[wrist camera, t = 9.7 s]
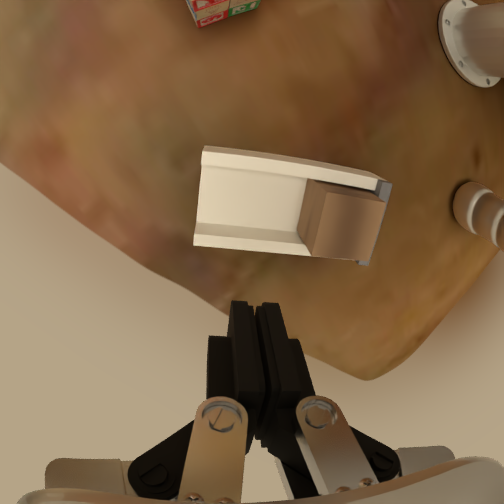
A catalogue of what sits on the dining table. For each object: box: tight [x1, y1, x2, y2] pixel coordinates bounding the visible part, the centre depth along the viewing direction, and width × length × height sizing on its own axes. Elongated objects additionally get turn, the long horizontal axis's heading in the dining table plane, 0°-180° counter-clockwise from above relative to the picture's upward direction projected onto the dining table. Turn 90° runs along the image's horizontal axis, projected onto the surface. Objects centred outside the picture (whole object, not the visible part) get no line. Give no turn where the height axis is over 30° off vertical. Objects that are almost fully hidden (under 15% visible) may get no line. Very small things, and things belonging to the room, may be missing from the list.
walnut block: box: [297, 178, 386, 261], centre depth 29 cm, size 6×6×6 cm
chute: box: [193, 145, 392, 266], centre depth 30 cm, size 18×9×5 cm, turn 81°
